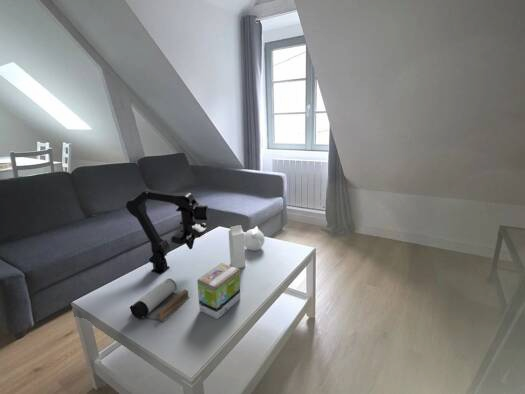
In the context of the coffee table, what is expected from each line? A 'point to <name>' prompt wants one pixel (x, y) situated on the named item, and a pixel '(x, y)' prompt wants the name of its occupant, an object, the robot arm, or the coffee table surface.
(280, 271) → the coffee table surface
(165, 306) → the cradle
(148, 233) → the robot arm
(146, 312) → the travel mug
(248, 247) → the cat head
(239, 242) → the milk
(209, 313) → the tea box
